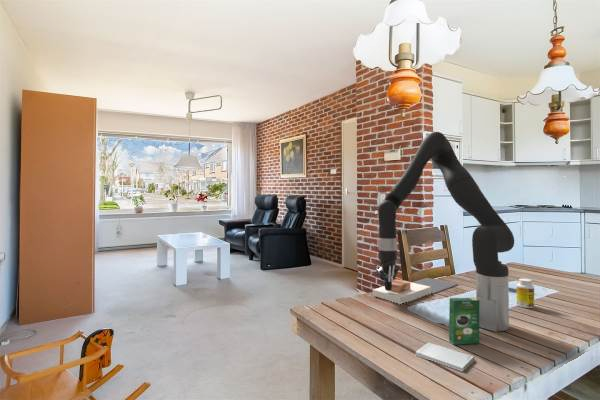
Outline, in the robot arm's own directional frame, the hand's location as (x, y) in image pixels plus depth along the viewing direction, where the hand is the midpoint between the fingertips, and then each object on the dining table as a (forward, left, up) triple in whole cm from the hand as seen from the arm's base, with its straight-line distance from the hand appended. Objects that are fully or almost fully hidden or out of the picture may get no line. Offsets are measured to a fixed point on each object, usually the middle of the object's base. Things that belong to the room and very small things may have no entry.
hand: (388, 290), depth 138 cm
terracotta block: (+6, 0, -1) cm, 6 cm away
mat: (+31, 0, -4) cm, 32 cm away
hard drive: (-28, -40, -5) cm, 49 cm away
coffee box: (-16, -39, -4) cm, 42 cm away
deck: (+9, 0, -4) cm, 10 cm away
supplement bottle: (+32, -39, -4) cm, 51 cm away
